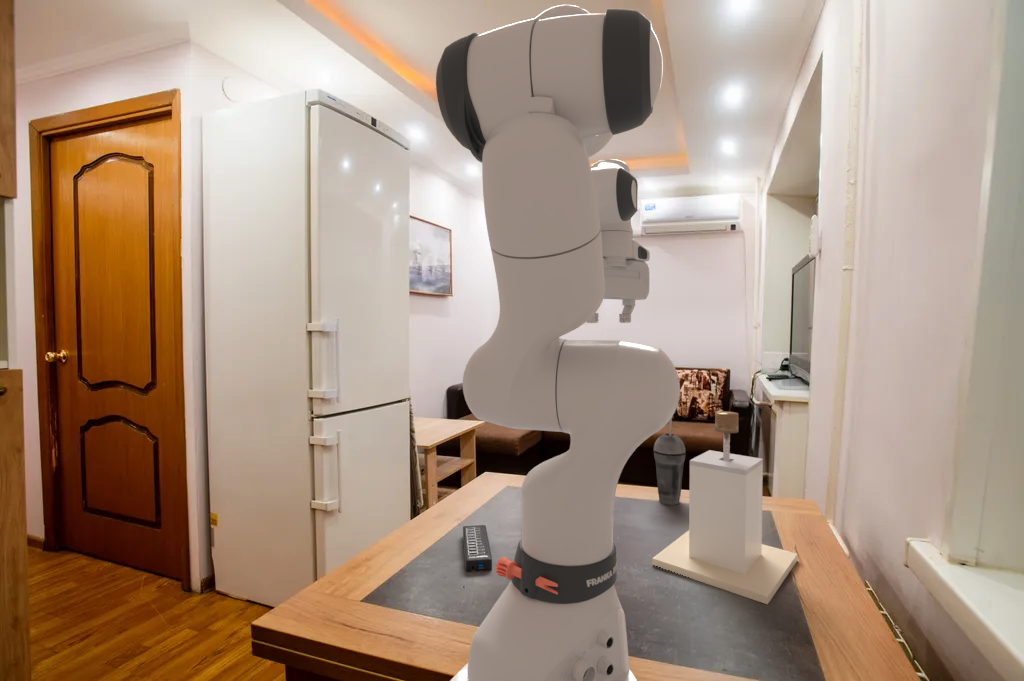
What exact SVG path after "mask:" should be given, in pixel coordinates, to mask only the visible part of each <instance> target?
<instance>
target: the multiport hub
mask: <svg viewBox="0 0 1024 681" xmlns="http://www.w3.org/2000/svg"><path fill="white" fill-rule="evenodd" d="M488 536H489V535H488V532H487V526H486V525H485V524H479V525H465V526H462V540H463V553H464V555H463V556H464V568H465V572H467V573H473V572H474V573H475V572H488V571H489V572H490V571H492V570H493V558H492V557H493V556H492V550H491V545H490V541H489V537H488Z"/></svg>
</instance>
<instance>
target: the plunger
mask: <svg viewBox="0 0 1024 681" xmlns="http://www.w3.org/2000/svg"><path fill="white" fill-rule="evenodd" d="M714 417H715V420H714V421H715V422H714V431H715V432H718V433H723V439H722V441H723V442H722V443H723V445H722V446H723V447H722V448H723V449H722V450H723V461H728V462H730V454H731V451H730V450H731V445H730V443H731V434H738V433H739V413H738V412H734V411H725V410H722V411H715V416H714Z"/></svg>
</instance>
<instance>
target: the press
mask: <svg viewBox="0 0 1024 681" xmlns="http://www.w3.org/2000/svg"><path fill="white" fill-rule="evenodd" d="M763 460H764V459H763V458H760V457H753V456H748V455H742V454H735V453H730V462H728V461H723V452H722V451H716V450H711V449H709V450H707V451H705V452H703V453H701V454H699V455H697V456H694V457H693V458H691V459H690V460H689V491H688V492H689V493H688V494H689V497H688V498H689V501H688V502H689V504H688V508H689V510H688V511H689V516H688V517H689V521H688V522H689V523H688V524H689V528H688V530H687V531H685V532H684V533H683V534H682V535H680V536H678V538H676V539H675V540H674V541H673V542H671V543H670V544H668V545H667V546H666V547H665V548H664V549H662V550H661V551H660V552H659V553H657V554H656V555H655V556H653V557H652V558H651V559H652V560H651V561H652V562H651V563H652V564H651V565H652V566H653V565H655V566H654V567H656V566H658V567H657V568H659V567H661V568H660V569H662V568H663V570H665V569H666V570H665V571H668V570H670V571H669V572H671V571H672V573H674V572H675V573H674V574H677V573H678V574H677V575H680V574H681V575H680V576H682V575H683V576H682V577H685V576H686V578H688V577H689V579H691V580H693V581H698V582H701V583H703V584H706V585H709V586H712V587H715V588H718V589H721V590H723V591H727V592H730V593H733V594H736V595H738V596H741V597H744V598H747V599H750V600H754V601H756V602H759V603H762V604H765V605H769V603H770V602H771V600H772V599H773V598H774V596H775V595H776V593H777V591H778V590H779V588H780V587H781V586H782V584H783V582H785V580H786V579H787V577H788V575H789V574H790V572H791V571H792V569H793V568H794V566H795V565H796V563H797V562H798V555H799V554H798V553H797V552H792V551H789V550H786V549H782V548H778V547H774V546H770V545H767V544H763V543H762V542H763V541H762V540H763V480H764V479H763V478H764V477H763V476H764V475H763V474H764V472H763V468H764V466H763V465H764V464H763Z"/></svg>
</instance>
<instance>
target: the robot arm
mask: <svg viewBox="0 0 1024 681" xmlns="http://www.w3.org/2000/svg"><path fill="white" fill-rule="evenodd" d="M663 63H664V61H663V54H662V49H661V46H660V41H659V40H658V37H657V34H655V31H654V30H653V25H652V21H651V20H649V18H647V17H646V16H645V15H644V14H643V13H641V12H640V11H639V10H635V9H631V8H629V9H628V8H607V9H606V11H605V13H590V12H589V11H588V10H586V9H584V8H582V7H581V6H577V5H572V4H561V5H556V6H551V7H550V8H548V9H546V10H544V11H542V12H540V13H539V14H538V15H537V16H536V17H535V18H531V19H527V20H522V21H518V22H514V23H512V24H507V25H504V26H501V27H498V28H496V29H492V30H488V31H486V32H483V33H481V34H479V33H478V32H473V33H470V34H468V35H466V36H463V37H460V38H458V39H457V40H455V41H453V42H452V43H450V44H449V45H447V46H445V48H444V50H443V52H442V54H441V57H440V58H439V62H438V63H437V64H438V65H437V68H436V74H435V90H436V97H437V102H438V106H439V110H440V114H441V116H442V119H443V122H444V123H445V125H446V128H447V130H448V131H449V132H450V133H451V135H452V136H453V137H454V138H455V140H457V142H458V143H459V144H460V145H461V146H462V147H463V148H465V149H467V150H469V151H470V153H471V154H472V156H473V157H474V158H475V159H476V160H477V161H478V162H480V163H481V164H482V165H481V166H482V167H481V168H482V169H481V170H482V171H481V172H482V178H481V179H482V192H483V193H482V196H483V205H484V215H485V222H486V229H487V235H488V242H489V246H490V252H491V255H492V260H493V266H494V272H495V278H496V283H497V284H496V286H497V291H498V299H499V316H498V320H497V324H496V327H495V329H494V331H493V333H492V334H491V336H490V337H489V339H488V340H487V341H486V342H484V343H483V344H482V345H480V346H479V347H478V348H477V349H476V350H475V351H474V352H473V353H472V355H471V356H470V358H469V359H468V361H467V363H466V365H465V368H464V371H463V372H464V373H463V377H462V392H463V396H464V400H465V402H466V405H467V407H468V409H469V410H470V412H471V414H473V416H474V417H475V418H476V419H477V420H480V421H483V422H485V423H486V422H487V423H490V424H493V425H497V426H501V427H505V428H508V429H515V430H528V431H529V430H530V431H544V432H545V431H546V432H557V433H558V432H559V433H560V432H561V433H565V434H569V437H570V444H569V449H568V450H567V451H566V452H563V453H561V454H558V455H555V456H553V457H552V458H549V459H547V460H544V461H542V462H540V463H539V464H538V465H536V466H534V467H533V468H532V469H530V471H528V473H527V474H526V476H525V477H524V479H523V482H522V484H521V489H520V539H519V541H518V544H517V548H516V550H515V554H514V559H513V561H511V560H510V559H509V558H507V557H505V556H502V557H500V558H498V560H497V562H496V564H495V573H496V574H497V575H498V576H500V577H503V578H504V577H505V578H506V580H510V581H509V583H508V585H506V588H505V589H504V590H503V591H502V593H501V594H500V596H499V597H498V599H497V600H496V602H495V603H494V605H492V608H491V609H490V610H489V612H488V614H487V615H486V616H485V618H484V620H483V621H482V622H481V624H480V625H479V626H478V628H477V629H476V631H475V632H474V634H473V636H472V637H471V638H472V639H471V643H470V646H469V647H470V648H469V652H468V662H466V664H465V665H463V667H461V669H459V670H458V672H457V673H456V674H455V675H454V676H453V677H452V678H451V679H450V680H449V681H638V680H637V677H636V676H635V674H634V673H633V672H632V670H631V669H630V660H629V659H630V658H629V649H628V648H629V647H628V637H627V636H628V635H627V633H628V632H627V624H626V614H625V612H624V608H623V607H622V603H621V602H620V599H619V596H618V594H617V590H616V586H615V583H616V581H617V578H618V577H617V575H618V574H617V573H618V570H617V569H618V567H619V566H618V562H619V561H618V556H617V547H616V545H615V544H614V542H613V540H614V539H613V538H614V536H613V535H614V531H613V530H614V516H615V515H614V514H615V513H614V512H615V501H616V491H617V487H618V483H619V479H620V477H621V474H622V472H623V469H624V467H625V466H626V464H627V462H628V460H629V459H630V457H631V456H632V455H633V453H634V452H635V451H636V449H638V447H640V446H641V444H643V443H644V442H645V441H646V440H648V439H649V438H650V437H651V436H653V435H654V434H656V433H658V432H660V431H661V430H662V429H664V427H665V426H666V425H667V424H669V422H670V419H671V418H672V419H673V416H674V414H675V412H676V410H677V408H678V404H679V400H680V394H681V385H680V379H679V375H678V372H677V369H676V366H675V365H674V363H673V361H672V360H671V359H670V357H669V356H668V355H667V354H666V353H665V352H664V351H663V350H662V349H661V348H660V347H656V346H652V345H647V344H641V343H637V342H631V341H626V340H610V339H609V340H599V339H598V340H596V339H595V340H594V339H593V340H589V339H588V340H587V339H585V340H584V339H583V340H581V339H580V340H577V339H576V340H575V339H570V340H568V339H563V338H561V337H562V336H565V335H566V334H568V333H571V332H572V331H575V330H576V329H579V328H581V326H583V325H584V324H585V323H587V324H598V322H599V312H598V310H599V309H600V307H601V305H602V304H603V301H604V300H619V301H620V300H622V301H621V302H622V306H623V309H622V312H621V313H619V316H618V317H619V318H618V320H619V323H620V324H627V323H628V324H629V323H631V321H632V313H633V311H634V309H635V307H636V301H640V300H641V301H643V300H646V299H647V298H648V296H649V294H650V267H649V264H648V263H647V262H649V260H650V258H651V254H650V253H651V252H650V251H649V250H648V249H647V248H645V247H644V246H643V245H641V244H640V243H639V242H638V241H637V240H635V239H634V230H633V228H632V217H633V216H634V215H635V214H636V213H637V212H638V186H639V185H638V180H637V178H635V176H634V175H632V173H631V171H630V167H629V165H628V164H627V163H626V162H625V161H622V160H621V159H620V160H619V159H616V158H615V159H614V158H608V159H601V160H598V161H596V162H594V163H593V164H592V165H591V163H590V160H589V158H591V157H593V156H595V155H596V154H598V153H599V152H600V151H601V150H602V149H604V148H605V147H606V145H608V143H609V142H610V140H612V138H613V137H614V135H619V134H622V133H625V132H628V131H631V130H634V129H636V128H639V127H640V126H642V125H644V123H645V122H646V121H647V119H648V118H649V117H650V115H651V114H653V111H654V105H655V103H656V100H657V98H658V95H659V93H660V90H661V86H662V80H663V74H664V72H663V71H664V70H663V69H664V64H663Z"/></svg>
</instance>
